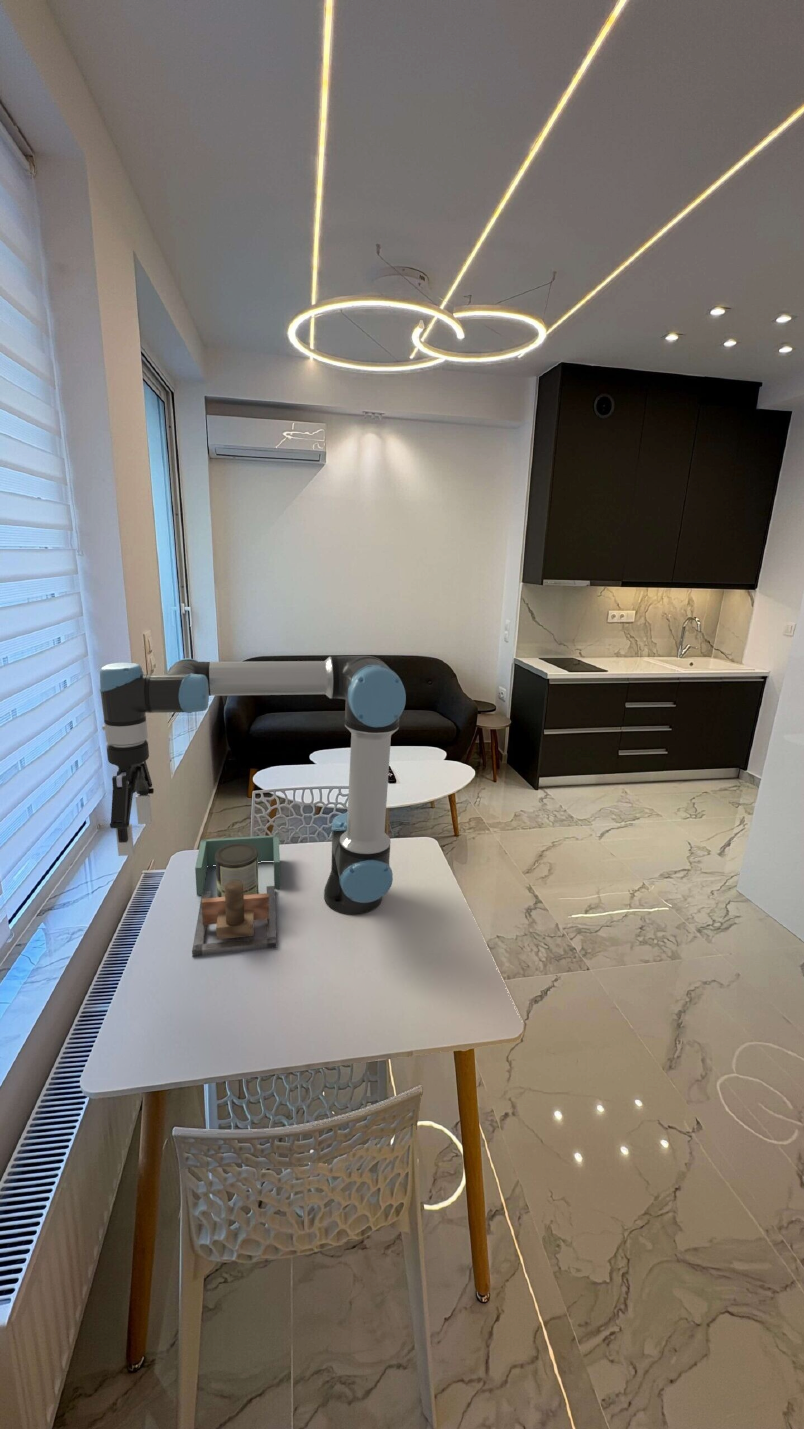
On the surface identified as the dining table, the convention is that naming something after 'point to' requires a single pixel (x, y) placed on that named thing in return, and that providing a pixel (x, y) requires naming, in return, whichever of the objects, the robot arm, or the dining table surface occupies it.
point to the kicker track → (235, 946)
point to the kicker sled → (235, 911)
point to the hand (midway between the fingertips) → (136, 838)
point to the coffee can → (237, 867)
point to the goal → (209, 847)
